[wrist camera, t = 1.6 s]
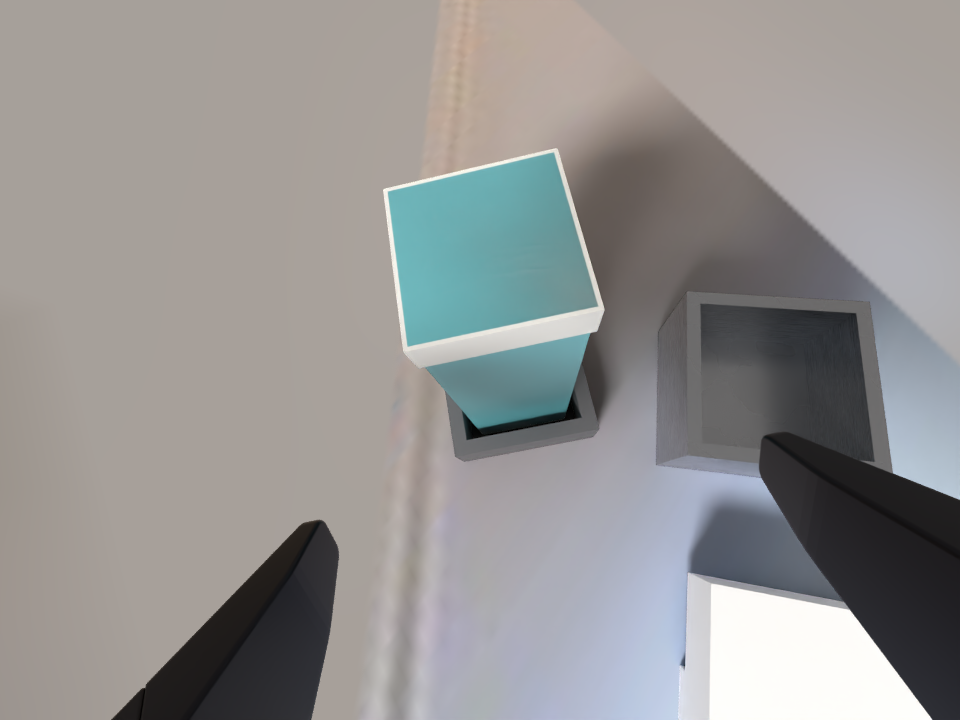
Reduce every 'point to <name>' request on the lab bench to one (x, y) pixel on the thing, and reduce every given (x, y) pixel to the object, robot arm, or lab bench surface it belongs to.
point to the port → (766, 380)
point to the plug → (495, 287)
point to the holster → (525, 438)
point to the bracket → (782, 659)
